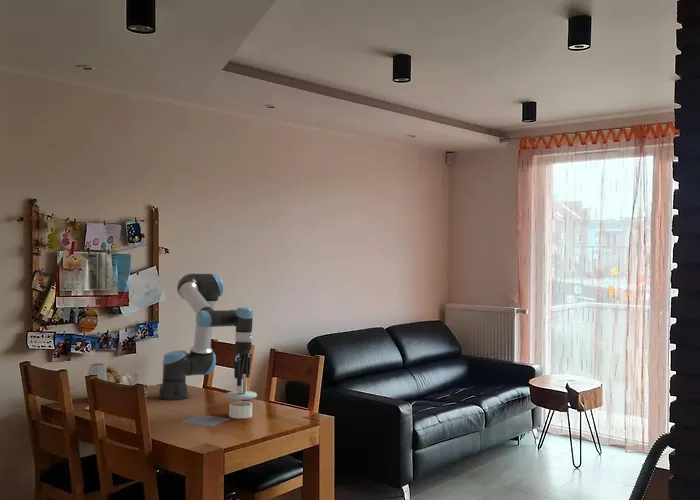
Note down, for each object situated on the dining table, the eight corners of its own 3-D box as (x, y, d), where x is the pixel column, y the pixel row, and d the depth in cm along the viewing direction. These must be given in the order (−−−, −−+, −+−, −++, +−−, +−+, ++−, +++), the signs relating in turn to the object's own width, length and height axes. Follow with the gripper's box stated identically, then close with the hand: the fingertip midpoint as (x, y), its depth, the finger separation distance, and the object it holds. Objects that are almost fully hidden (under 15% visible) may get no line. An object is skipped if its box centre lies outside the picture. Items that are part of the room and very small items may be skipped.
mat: (200, 415, 302) (200, 414, 302) (231, 419, 296) (231, 418, 296) (180, 423, 287) (180, 422, 287) (212, 427, 281) (212, 426, 281)
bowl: (236, 412, 309) (236, 400, 309) (256, 415, 306) (256, 402, 306) (224, 417, 299) (225, 404, 299) (245, 420, 296) (245, 407, 296)
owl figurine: (94, 396, 335) (96, 362, 336) (119, 395, 340) (121, 362, 340) (94, 403, 319) (96, 368, 319) (120, 402, 323) (122, 367, 323)
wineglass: (81, 409, 305) (83, 364, 305) (95, 406, 313) (97, 362, 313) (96, 412, 301) (98, 366, 302) (109, 408, 309) (111, 363, 310)
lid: (235, 392, 312) (236, 370, 312) (262, 395, 307) (263, 373, 307) (220, 397, 298) (221, 375, 299) (247, 400, 294) (248, 377, 294)
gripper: (242, 343, 294) (240, 396, 294) (258, 339, 309) (257, 390, 309) (227, 342, 297) (225, 394, 296) (244, 338, 312) (242, 388, 311)
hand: (241, 392), depth 303 cm, fingers closed on lid, 3 cm apart
